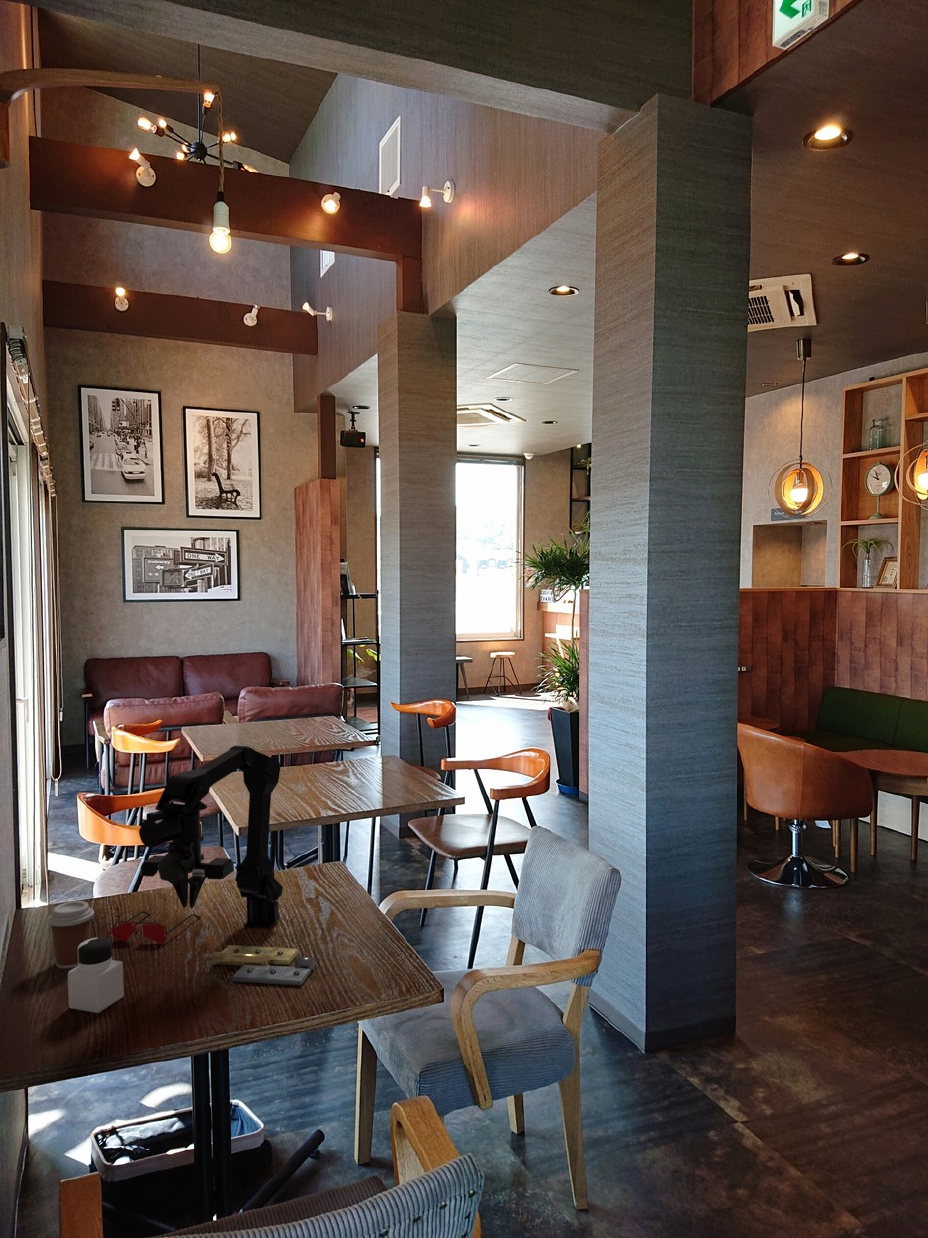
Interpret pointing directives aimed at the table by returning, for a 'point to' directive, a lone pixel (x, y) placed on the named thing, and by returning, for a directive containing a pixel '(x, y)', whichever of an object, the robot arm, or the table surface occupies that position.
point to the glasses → (149, 931)
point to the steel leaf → (276, 973)
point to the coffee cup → (70, 931)
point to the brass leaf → (253, 955)
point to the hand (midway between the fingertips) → (188, 907)
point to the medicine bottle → (95, 977)
